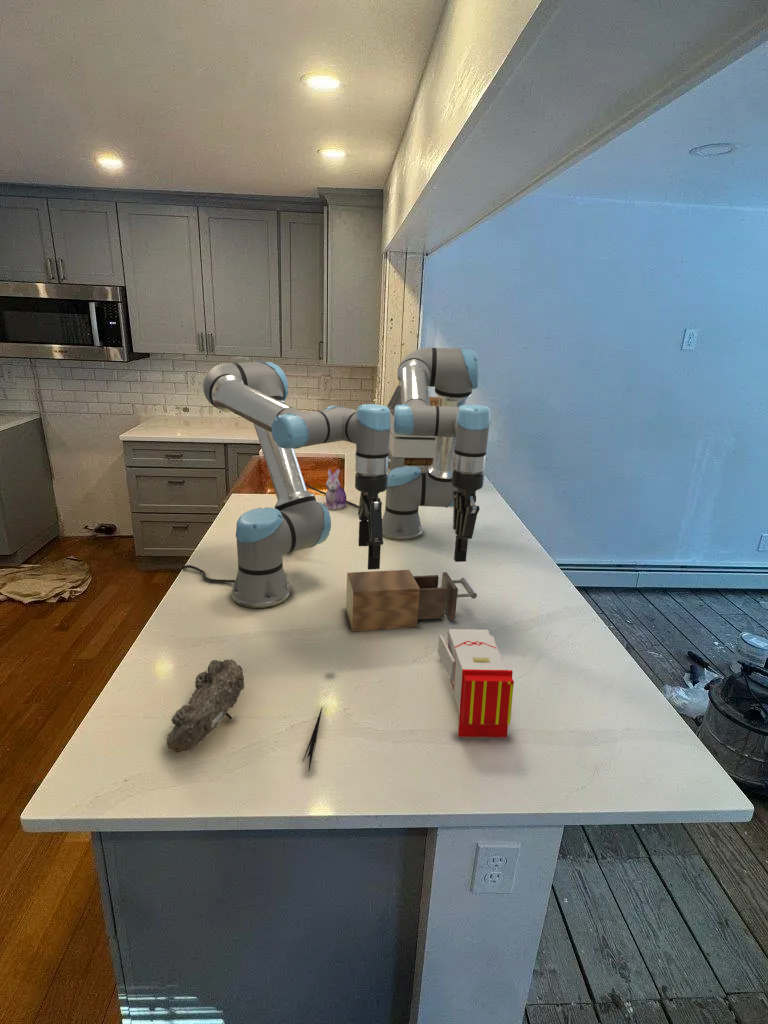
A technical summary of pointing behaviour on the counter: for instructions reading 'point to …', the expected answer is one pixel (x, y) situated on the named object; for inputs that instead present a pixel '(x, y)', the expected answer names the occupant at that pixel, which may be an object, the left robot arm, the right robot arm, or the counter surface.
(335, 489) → the figurine
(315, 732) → the feather
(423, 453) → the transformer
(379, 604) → the cabinet
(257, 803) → the counter surface
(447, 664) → the toy
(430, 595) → the drawer
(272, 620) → the counter surface
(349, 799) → the counter surface
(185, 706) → the fossil
